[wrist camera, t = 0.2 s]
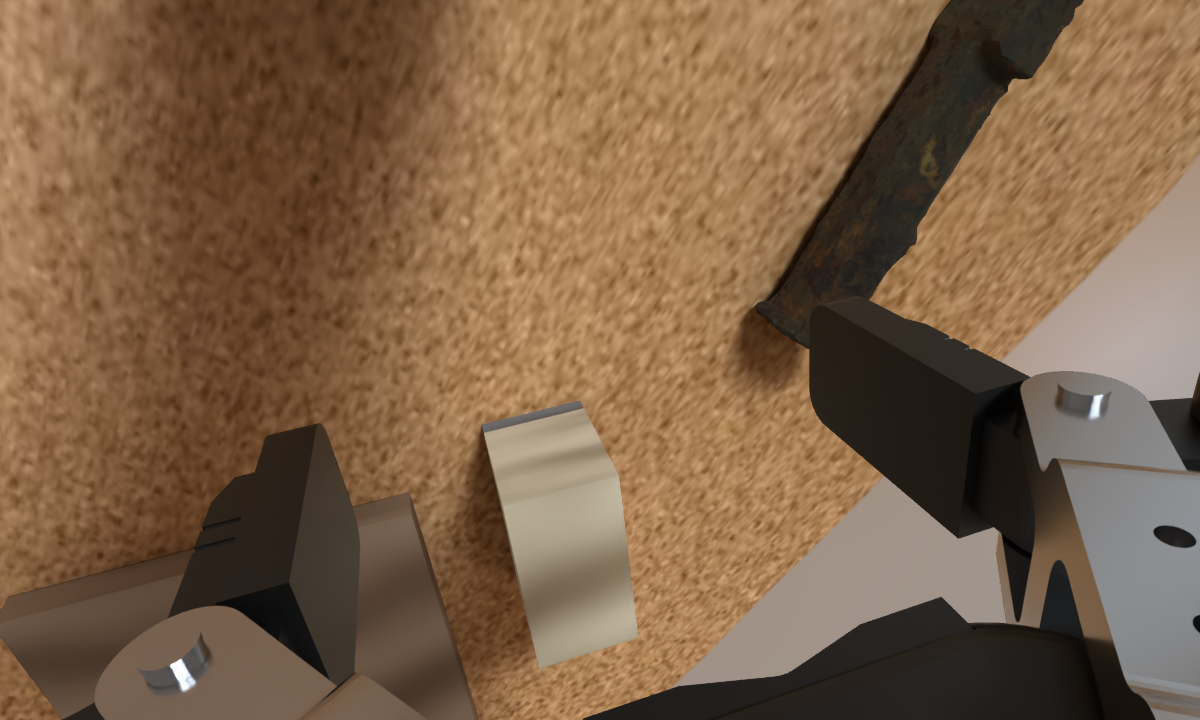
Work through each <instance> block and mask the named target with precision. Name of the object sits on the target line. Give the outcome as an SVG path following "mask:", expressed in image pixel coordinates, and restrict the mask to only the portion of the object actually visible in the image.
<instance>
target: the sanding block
mask: <svg viewBox="0 0 1200 720" xmlns="http://www.w3.org/2000/svg"><path fill="white" fill-rule="evenodd" d="M482 428H483V433H484V437H485V441H486V446H487V450H488V455H489V459H490V463H491V468H492V472H493V477H494V481H495V485H496V490H497V494H498V499H499V503H500V508H501V512H502V516H503V521H504V525H505V530H506V534H507V538H508V543H509V547H510V552H511V556H512V560H513V565H514V569H515V574H516V578H517V582H518V586H519V590H520V594H521V598H522V602H523V606H524V610H525V614H526V618H527V622H528V626H529V630H530V634H531V638H532V642H533V646H534V650H535V654H536V658H537V662H538V666H539V669H541V668H544V667H547V666H550V665H553V664H556V663H560V662H563V661H566V660H569V659H572V658H575V657H578V656H582V655H585V654H588V653H591V652H594V651H597V650H601V649H604V648H607V647H610V646H613V645H616V644H619V643H623V642H626V641H629V640H632V639H635V638H638V632H637V623H636V615H635V607H634V598H633V590H632V582H631V573H630V565H629V557H628V548H627V540H626V532H625V523H624V515H623V507H622V498H621V490H620V482H619V475H618V473H617V471H616V469H615V467H614V465H613V464H612V462H611V460H610V458H609V456H608V454H607V452H606V450H605V448H604V446H603V444H602V442H601V440H600V438H599V437H598V435H597V433H596V431H595V429H594V427H593V425H592V423H591V421H590V419H589V417H588V415H587V413H586V411H585V410H584V408H583V406H582V404H581V402H580V401H577V402H573V403H569V404H565V405H561V406H556V407H552V408H548V409H544V410H540V411H536V412H532V413H528V414H524V415H520V416H516V417H512V418H507V419H503V420H499V421H495V422H491V423H487V424H483V425H482Z"/></svg>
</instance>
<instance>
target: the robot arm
mask: <svg viewBox="0 0 1200 720" xmlns="http://www.w3.org/2000/svg"><path fill="white" fill-rule="evenodd" d="M809 390H810V397H811V402H812V405H813V408H814V410H815V412H816V414H817V416H818V417H819V419H820V420H821V422H822V423H823V424H824V425H825V426H827V427H828V428H829V429H830V430H831V431H832V432H834V433H835V434H836V435H837V436H838V437H839V438H841V439H842V440H843V441H844V442H845V443H847V444H848V445H849V446H850V447H851V448H852V449H854V450H855V451H856V452H857V453H858V454H859V455H861V456H862V457H863V458H864V459H865V460H866V461H868V462H869V463H870V464H871V465H872V466H874V467H875V468H876V469H877V470H878V471H879V472H881V473H882V474H883V475H884V476H885V477H886V478H888V479H889V480H890V481H891V482H892V483H893V484H895V485H896V486H897V487H898V488H899V489H901V490H902V491H903V492H904V493H905V494H906V495H908V496H909V497H910V498H911V499H912V500H914V501H915V502H916V503H917V504H918V505H919V506H920V507H922V508H923V509H924V510H925V511H926V512H928V513H929V514H930V515H931V516H932V517H933V518H935V519H936V520H937V521H938V522H939V523H941V524H942V525H943V526H944V527H945V528H946V529H948V530H949V531H950V532H951V533H953V535H955V536H956V537H957V538H958V539H959V538H962V537H965V536H968V535H971V534H974V533H977V532H980V531H983V530H986V529H990V528H992V527H994V528H995V529H997V530H998V531H999V533H998V540H997V546H996V557H997V563H998V570H999V578H1000V584H1001V591H1002V597H1003V605H1004V612H1005V619H1006V623H967V622H966V621H965V620H964V619H963V618H962V617H961V616H960V615H959V614H958V613H957V612H956V611H955V610H954V609H953V608H952V607H951V606H950V605H949V604H948V603H947V602H946V601H945V600H944V599H943V598H942V597H940V598H937V599H934V600H931V601H928V602H925V603H922V604H919V605H916V606H913V607H910V608H907V609H904V610H901V611H898V612H895V613H892V614H890V615H887V616H884V617H881V618H878V619H875V620H872V621H869V622H866V623H863V624H860V625H859V626H857V627H856V628H854V629H853V630H851V631H850V632H848V633H847V634H845V635H844V636H843V637H841V638H840V639H838V640H837V641H835V642H834V643H832V644H831V645H829V646H828V647H826V648H825V649H823V650H822V651H821V652H819V653H818V654H816V655H815V656H813V657H812V658H810V659H809V660H807V661H806V662H805V663H803V664H801V665H800V666H799V667H797V668H796V669H794V670H792V671H791V672H789V673H787V674H784V675H781V676H775V677H766V678H756V679H746V680H736V681H726V682H716V683H706V684H697V685H686V686H678V687H675V688H672V689H669V690H666V691H663V692H660V693H657V694H654V695H651V696H648V697H645V698H642V699H639V700H636V701H634V702H631V703H628V704H625V705H622V706H619V707H616V708H613V709H610V710H607V711H604V712H601V713H598V714H595V715H592V716H589V717H586V718H584V719H583V720H1200V373H1199V377H1198V380H1197V384H1196V387H1195V391H1194V395H1193V398H1185V399H1170V400H1156V401H1148V400H1147V398H1146V397H1145V396H1144V395H1143V394H1142V393H1141V392H1140V391H1138V390H1137V389H1135V388H1134V387H1132V386H1130V385H1128V384H1126V383H1123V382H1121V381H1118V380H1115V379H1112V378H1109V377H1105V376H1101V375H1096V374H1090V373H1084V372H1073V371H1060V372H1059V371H1058V372H1048V373H1043V374H1038V375H1035V376H1033V377H1029V376H1027V375H1025V374H1023V373H1021V372H1019V371H1017V370H1015V369H1013V368H1011V367H1009V366H1007V365H1005V364H1003V363H1002V362H1000V361H998V360H996V359H994V358H992V357H990V356H988V355H986V354H984V353H982V352H980V351H978V350H976V349H969V346H968V345H966V344H964V343H962V342H960V341H958V340H956V339H950V338H949V336H948V335H946V334H944V333H942V332H940V331H938V330H937V329H935V328H933V327H931V326H929V325H927V324H924V323H920V322H916V321H912V320H908V319H904V318H902V317H900V316H899V315H897V314H895V313H893V312H891V311H889V310H887V309H885V308H883V307H881V306H879V305H877V304H875V303H873V302H871V301H870V300H868V299H866V298H864V297H861V296H856V297H852V298H848V299H844V300H839V301H835V302H831V303H827V304H823V305H818V306H816V307H815V308H814V309H813V311H812V313H811V316H810V349H809ZM202 528H203V531H202V532H200V534H199V537H198V539H197V542H196V544H195V547H194V548H195V552H194V553H192V555H191V558H190V560H189V563H188V565H187V568H186V571H185V573H184V576H183V579H182V581H181V584H180V587H179V589H178V592H177V594H176V597H175V600H174V602H173V605H172V608H171V610H170V613H169V616H168V618H167V619H166V620H164V621H162V622H160V623H158V624H156V625H155V626H153V627H151V628H150V629H148V630H146V631H145V632H144V633H142V634H141V635H139V636H138V637H137V638H135V639H134V640H133V641H131V642H130V643H129V644H128V645H127V646H126V647H124V648H123V649H122V650H121V651H120V652H119V653H118V654H117V655H116V656H115V657H114V658H113V660H112V661H111V662H110V663H109V665H108V666H107V667H106V669H105V670H104V672H103V673H102V675H101V677H100V679H99V681H98V684H97V686H96V690H95V696H94V699H95V702H94V703H92V704H91V705H89V706H87V707H85V708H84V709H82V710H80V711H78V712H76V713H74V714H72V715H70V716H68V717H66V718H65V719H63V720H427V719H426V718H425V717H423V716H422V715H420V714H419V713H418V712H416V711H415V710H414V709H412V708H411V707H409V706H408V705H407V704H405V703H404V702H402V701H401V700H400V699H398V698H397V697H396V696H394V695H393V694H391V693H390V692H389V691H387V690H386V689H384V688H383V687H382V686H380V685H379V684H378V683H376V682H375V681H373V680H372V679H370V678H369V677H367V676H365V675H363V674H360V673H354V672H355V650H356V629H357V607H358V586H359V565H360V539H359V532H358V526H357V521H356V517H355V513H354V510H353V507H352V504H351V501H350V498H349V495H348V492H347V489H346V487H345V484H344V481H343V478H342V475H341V472H340V469H339V466H338V463H337V461H336V458H335V455H334V452H333V449H332V446H331V443H330V440H329V438H328V435H327V433H326V431H325V429H324V427H323V426H322V425H321V424H320V423H318V424H314V425H310V426H306V427H301V428H297V429H293V430H289V431H285V432H280V433H276V434H272V435H268V436H267V437H266V438H265V441H264V444H263V448H262V451H261V454H260V458H259V461H258V464H257V467H256V471H255V473H251V474H247V475H243V476H239V477H235V478H234V479H233V480H232V481H231V482H230V483H229V484H228V485H227V486H226V488H225V489H224V490H223V491H222V492H221V493H220V494H219V495H218V496H217V497H216V498H215V499H214V500H213V501H212V502H211V505H210V508H209V510H208V513H207V515H206V518H205V521H204V523H203V526H202Z"/></svg>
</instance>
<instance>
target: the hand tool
mask: <svg viewBox="0 0 1200 720" xmlns="http://www.w3.org/2000/svg"><path fill="white" fill-rule="evenodd" d="M1083 1H1084V0H952V1H951V2H950V3H949V4H948V6H947V7H946V8H945V9H944V10H943V12H942V13H941V14H940V15H939V17H938V18H937V19H936V21H935V22H934V24H933V26H932V28H931V30H930V33H929V38H930V42H931V47H930V50H929V52H928V54H927V56H926V57H925V59H924V61H923V63H922V64H921V66H920V68H919V69H918V71H917V73H916V74H915V76H914V77H913V79H912V81H911V82H910V84H909V85H908V86H907V88H906V89H905V90H904V92H903V93H902V95H901V97H900V98H899V100H898V101H897V103H896V104H895V106H894V107H893V109H892V110H891V112H890V113H889V115H888V116H887V118H886V119H885V120H884V122H883V123H882V124H881V126H880V127H879V129H878V130H877V131H876V132H875V134H874V136H873V137H872V139H871V141H870V143H869V146H868V148H867V150H866V152H865V154H864V156H863V158H862V159H861V161H860V162H859V164H858V166H857V167H856V169H855V170H854V172H853V173H852V175H851V177H850V178H849V180H848V181H847V183H846V184H845V186H844V188H843V189H842V191H841V192H840V194H839V195H838V196H837V197H836V199H835V200H834V201H833V202H832V204H831V206H830V207H829V210H828V212H827V213H826V215H825V216H824V217H823V218H822V220H821V221H820V222H819V223H818V225H817V228H816V230H815V233H814V235H813V237H812V239H811V241H810V243H809V244H808V245H807V247H806V248H805V249H804V250H803V252H802V254H801V256H800V258H799V260H798V262H797V264H796V266H795V267H794V269H793V270H792V272H791V274H790V275H789V277H788V279H787V280H786V282H785V283H784V285H783V286H782V288H781V289H780V290H779V292H778V293H777V294H776V295H775V296H774V297H773V298H771V299H770V300H768V301H762V302H759V303H758V304H757V305H756V310H757V313H758V314H760V315H762V316H763V317H764V318H765V319H766V320H767V322H769V323H770V324H772V325H773V326H774V327H775V328H776V329H778V330H779V331H780V332H781V333H782V334H784V335H785V336H787V337H788V338H790V339H792V340H794V341H795V342H797V343H799V344H801V345H803V346H804V347H806V348H808V349H810V316H811V313H812V311H813V309H814V308H815V307H816V306H818V305H823V304H827V303H831V302H835V301H839V300H844V299H848V298H852V297H856V296H861V297H864V298H866V299H868V300H869V299H870V298H871V297H872V295H873V293H874V292H875V290H876V287H877V286H878V285H879V283H880V282H881V281H882V279H883V277H884V276H885V274H886V273H887V271H888V270H889V269H890V268H891V267H892V266H893V265H894V264H895V263H896V262H897V261H898V260H899V259H900V258H901V257H903V256H904V255H906V252H907V250H908V249H909V247H910V246H912V245H915V244H916V240H917V226H918V225H919V223H920V221H921V220H922V219H923V217H924V216H925V215H926V213H927V211H928V209H929V207H930V205H931V204H932V202H933V201H934V199H935V198H936V196H937V195H938V193H939V191H940V190H941V188H942V187H943V185H944V184H945V182H946V181H947V179H948V178H949V176H950V175H951V173H952V172H953V170H954V169H955V167H956V165H957V164H958V162H959V160H960V159H961V157H962V156H963V154H964V153H965V151H966V150H967V148H968V147H969V145H970V144H971V142H972V140H973V139H974V137H975V135H976V134H977V132H978V130H979V129H980V128H981V126H982V124H983V123H984V122H985V120H986V118H987V117H988V116H989V115H990V112H991V110H992V109H993V107H994V105H995V104H996V102H997V101H998V100H999V98H1001V97H1002V96H1003V95H1004V94H1005V93H1006V92H1008V85H1009V84H1010V82H1011V80H1012V79H1014V78H1017V79H1030V78H1032V77H1033V76H1034V74H1035V73H1036V71H1037V70H1038V68H1039V67H1040V65H1041V64H1042V63H1043V62H1044V60H1045V59H1046V57H1047V56H1048V54H1049V52H1050V50H1051V48H1052V46H1053V44H1054V42H1055V40H1056V39H1057V38H1058V36H1059V35H1060V33H1061V32H1062V30H1063V28H1065V27H1066V26H1067V25H1069V24H1070V22H1071V21H1072V19H1073V17H1074V12H1075V8H1077V7H1078V6H1080V5H1081V4H1082V3H1083Z"/></svg>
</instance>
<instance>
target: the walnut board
mask: <svg viewBox="0 0 1200 720" xmlns="http://www.w3.org/2000/svg"><path fill="white" fill-rule="evenodd" d="M353 510H354V513H355V517H356V521H357V526H358V532H359V539H360V565H359V586H358V607H357V629H356V650H355V672H354V673H360V674H363V675H365V676H367V677H369V678H370V679H372V680H373V681H375V682H376V683H378V684H379V685H380V686H382V687H383V688H384V689H386V690H387V691H389V692H390V693H391V694H393V695H394V696H396V697H397V698H398V699H400V700H401V701H402V702H404V703H405V704H407V705H408V706H409V707H411V708H412V709H414V710H415V711H416V712H418V713H419V714H420V715H422V716H423V717H425V718H426V719H427V720H479V718H478V715H477V712H476V708H475V705H474V702H473V699H472V695H471V692H470V689H469V686H468V682H467V679H466V676H465V673H464V669H463V666H462V663H461V660H460V656H459V653H458V650H457V646H456V643H455V640H454V637H453V633H452V630H451V627H450V624H449V620H448V617H447V614H446V611H445V607H444V604H443V601H442V598H441V594H440V591H439V588H438V584H437V581H436V578H435V575H434V571H433V568H432V565H431V562H430V558H429V555H428V552H427V549H426V545H425V542H424V539H423V535H422V532H421V529H420V526H419V522H418V519H417V516H416V513H415V509H414V506H413V503H412V500H411V496H410V493H405V494H402V495H398V496H394V497H390V498H386V499H383V500H379V501H375V502H371V503H367V504H363V505H360V506H356V507H353ZM194 552H195V549H191V550H187V551H183V552H180V553H176V554H172V555H168V556H164V557H160V558H157V559H153V560H149V561H145V562H141V563H137V564H134V565H130V566H126V567H122V568H118V569H114V570H111V571H107V572H103V573H99V574H95V575H91V576H88V577H84V578H80V579H76V580H72V581H68V582H65V583H61V584H57V585H53V586H49V587H45V588H42V589H38V590H34V591H30V592H26V593H22V594H19V595H15V596H11V597H9V598H8V599H7V601H6V603H5V604H4V606H3V608H2V609H1V611H0V637H1V638H2V640H3V641H4V642H5V644H6V645H7V646H8V648H9V649H10V650H11V652H12V653H13V654H14V656H15V657H16V658H17V660H18V661H19V662H20V664H21V665H22V666H23V667H24V669H25V670H26V671H27V673H28V674H29V675H30V677H31V678H32V679H33V681H34V682H35V683H36V685H37V686H38V687H39V689H40V690H41V691H42V693H43V694H44V695H45V697H46V698H47V699H48V701H49V702H50V703H51V705H52V706H53V707H54V709H55V710H56V711H57V713H58V714H59V715H60V716H61V718H62V719H65V718H66V717H68V716H70V715H72V714H74V713H76V712H78V711H80V710H82V709H84V708H85V707H87V706H89V705H91V704H92V703H94V702H95V699H94V696H95V690H96V686H97V684H98V681H99V679H100V677H101V675H102V673H103V672H104V670H105V669H106V667H107V666H108V665H109V663H110V662H111V661H112V660H113V658H114V657H115V656H116V655H117V654H118V653H119V652H120V651H121V650H122V649H123V648H124V647H126V646H127V645H128V644H129V643H130V642H131V641H133V640H134V639H135V638H137V637H138V636H139V635H141V634H142V633H144V632H145V631H146V630H148V629H150V628H151V627H153V626H155V625H156V624H158V623H160V622H162V621H164V620H166V619H167V618H168V616H169V613H170V610H171V608H172V605H173V602H174V600H175V597H176V594H177V592H178V589H179V587H180V584H181V581H182V579H183V576H184V573H185V571H186V568H187V565H188V563H189V560H190V558H191V555H192V553H194Z"/></svg>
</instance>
